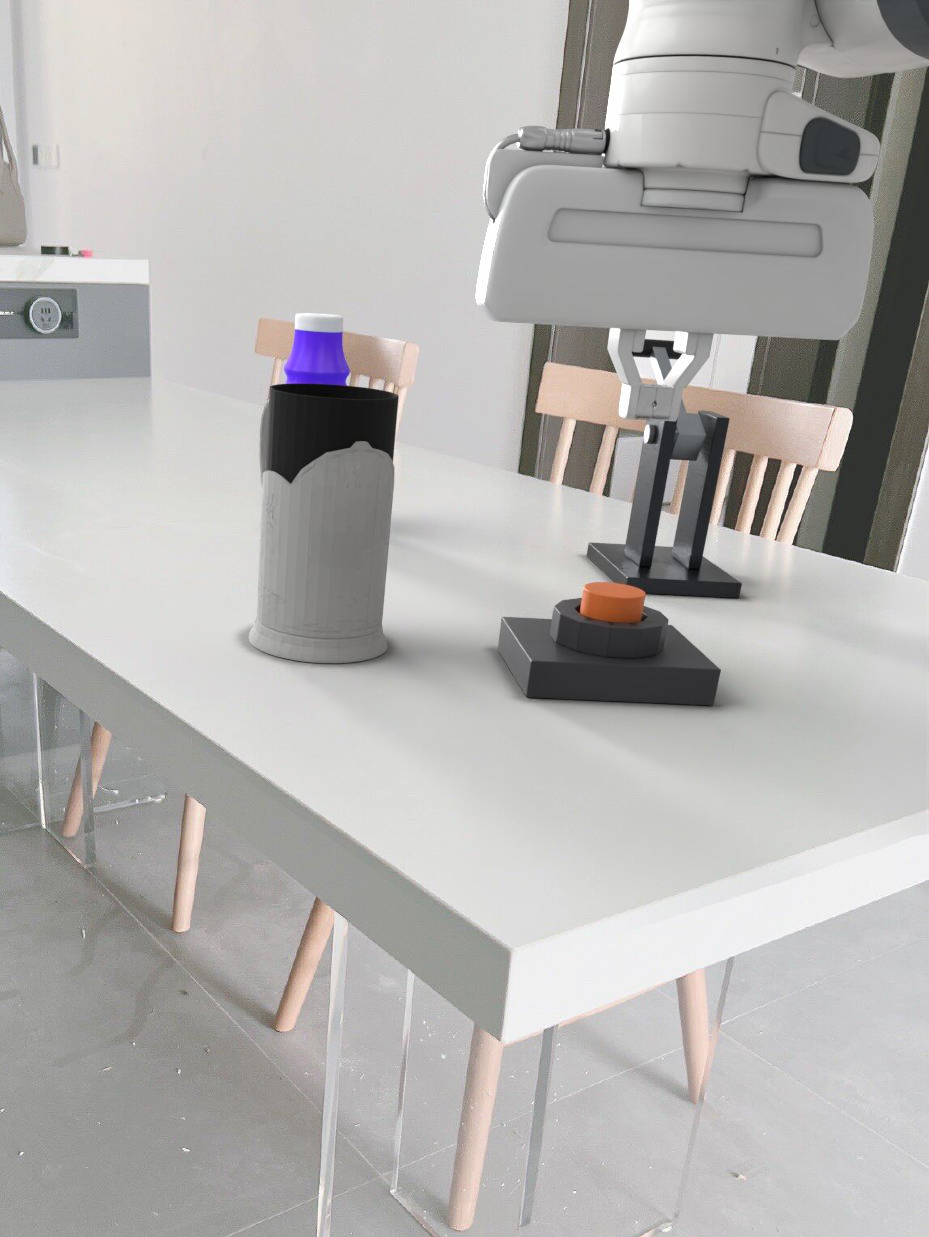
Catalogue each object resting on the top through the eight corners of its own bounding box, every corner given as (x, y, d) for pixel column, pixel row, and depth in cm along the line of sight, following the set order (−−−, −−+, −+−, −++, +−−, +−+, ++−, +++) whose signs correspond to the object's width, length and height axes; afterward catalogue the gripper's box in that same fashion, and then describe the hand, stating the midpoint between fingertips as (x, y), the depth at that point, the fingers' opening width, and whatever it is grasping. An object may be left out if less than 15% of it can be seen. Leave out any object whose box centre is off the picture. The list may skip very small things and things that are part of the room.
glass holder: (283, 668, 71) (297, 399, 65) (197, 603, 83) (202, 370, 76) (412, 656, 75) (437, 401, 69) (313, 596, 86) (327, 373, 80)
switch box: (665, 657, 78) (677, 596, 77) (713, 706, 70) (728, 638, 68) (497, 649, 77) (505, 588, 76) (525, 697, 69) (535, 629, 68)
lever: (621, 354, 103) (629, 328, 101) (679, 358, 103) (688, 332, 101) (651, 458, 94) (660, 432, 92) (714, 462, 95) (724, 436, 93)
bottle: (314, 533, 105) (327, 317, 98) (259, 522, 108) (268, 311, 101) (356, 521, 111) (371, 316, 104) (303, 511, 114) (314, 311, 107)
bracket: (586, 556, 104) (610, 399, 99) (688, 561, 105) (718, 406, 99) (625, 592, 93) (654, 419, 88) (739, 598, 94) (775, 426, 89)
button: (631, 611, 74) (635, 583, 73) (648, 628, 71) (653, 599, 70) (572, 608, 74) (577, 580, 73) (587, 625, 70) (592, 596, 70)
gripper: (501, 116, 58) (471, 417, 64) (913, 144, 60) (847, 436, 65) (479, 127, 64) (453, 402, 70) (856, 152, 65) (799, 420, 71)
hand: (647, 419), depth 68 cm, fingers closed
